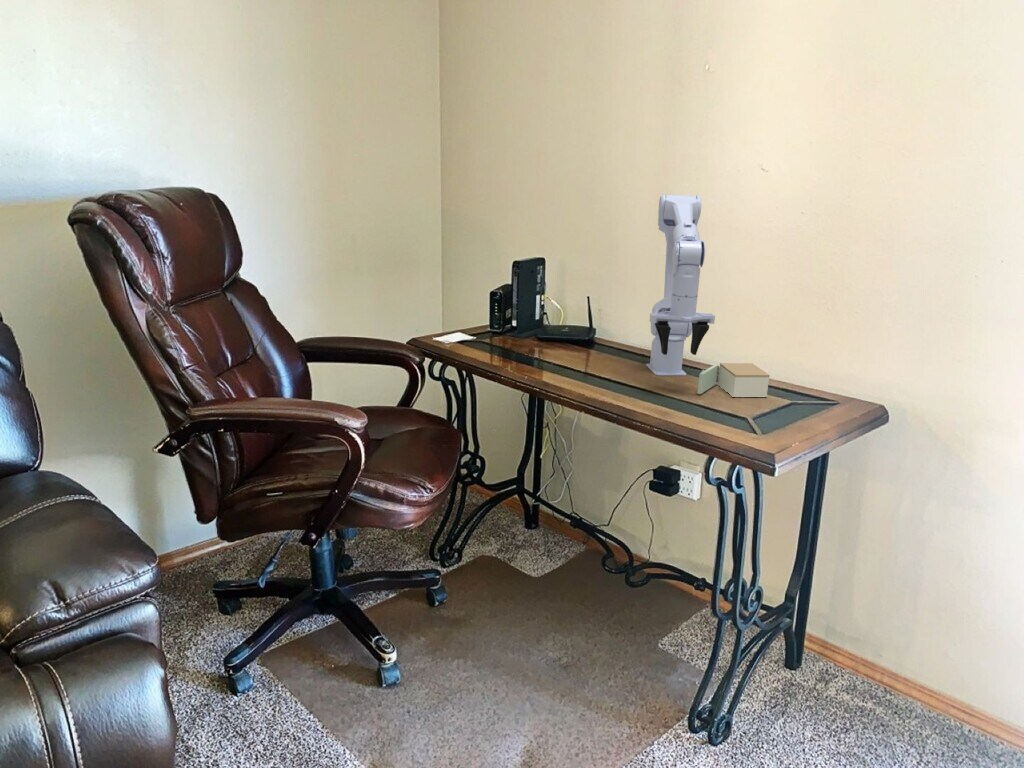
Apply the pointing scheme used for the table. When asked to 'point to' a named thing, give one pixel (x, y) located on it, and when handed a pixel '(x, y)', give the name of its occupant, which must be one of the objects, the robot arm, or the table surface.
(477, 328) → the table surface
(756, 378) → the cabinet
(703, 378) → the door
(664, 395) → the table surface
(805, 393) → the table surface
